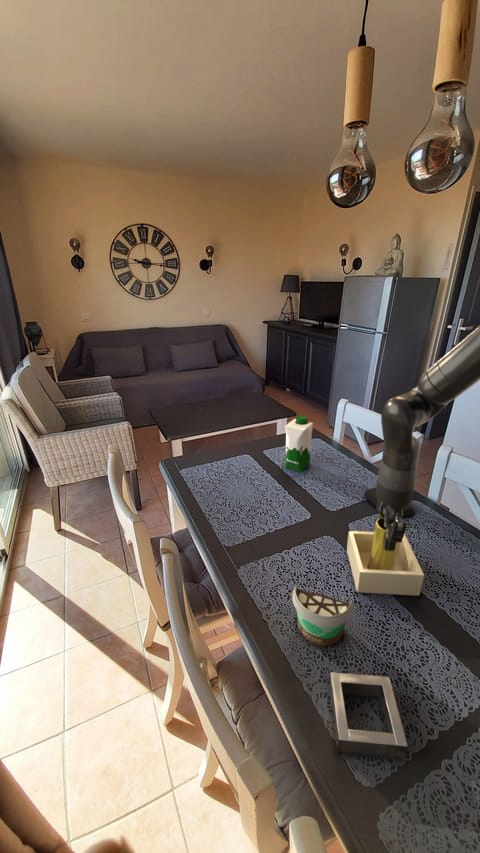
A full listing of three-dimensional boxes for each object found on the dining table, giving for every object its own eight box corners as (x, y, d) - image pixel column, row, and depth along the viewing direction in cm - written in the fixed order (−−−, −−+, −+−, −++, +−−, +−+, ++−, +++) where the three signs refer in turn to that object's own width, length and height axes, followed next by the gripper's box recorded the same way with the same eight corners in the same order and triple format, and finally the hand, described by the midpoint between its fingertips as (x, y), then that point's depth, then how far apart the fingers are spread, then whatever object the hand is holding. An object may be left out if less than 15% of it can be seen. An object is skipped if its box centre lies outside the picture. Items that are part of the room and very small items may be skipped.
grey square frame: (386, 690, 65) (389, 676, 64) (403, 760, 56) (408, 746, 55) (328, 685, 66) (330, 672, 65) (337, 754, 57) (339, 740, 56)
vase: (371, 557, 94) (378, 512, 88) (396, 567, 90) (405, 521, 85) (363, 572, 89) (370, 526, 83) (389, 583, 86) (398, 536, 80)
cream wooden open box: (400, 553, 96) (404, 532, 93) (419, 598, 83) (424, 575, 80) (346, 551, 97) (348, 530, 94) (356, 594, 85) (360, 572, 82)
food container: (284, 641, 74) (285, 607, 70) (292, 617, 80) (293, 583, 76) (346, 662, 70) (351, 627, 66) (349, 635, 75) (354, 601, 71)
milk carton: (312, 465, 139) (315, 417, 131) (302, 475, 133) (304, 426, 124) (292, 459, 144) (293, 412, 136) (281, 469, 137) (282, 421, 129)
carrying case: (358, 496, 120) (386, 523, 107) (359, 488, 119) (387, 515, 106) (386, 490, 122) (416, 516, 109) (387, 482, 121) (418, 508, 108)
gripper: (426, 500, 72) (412, 564, 79) (403, 464, 85) (392, 521, 92) (387, 499, 73) (376, 562, 80) (370, 463, 86) (362, 520, 93)
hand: (385, 540), depth 86 cm, fingers open, 5 cm apart
